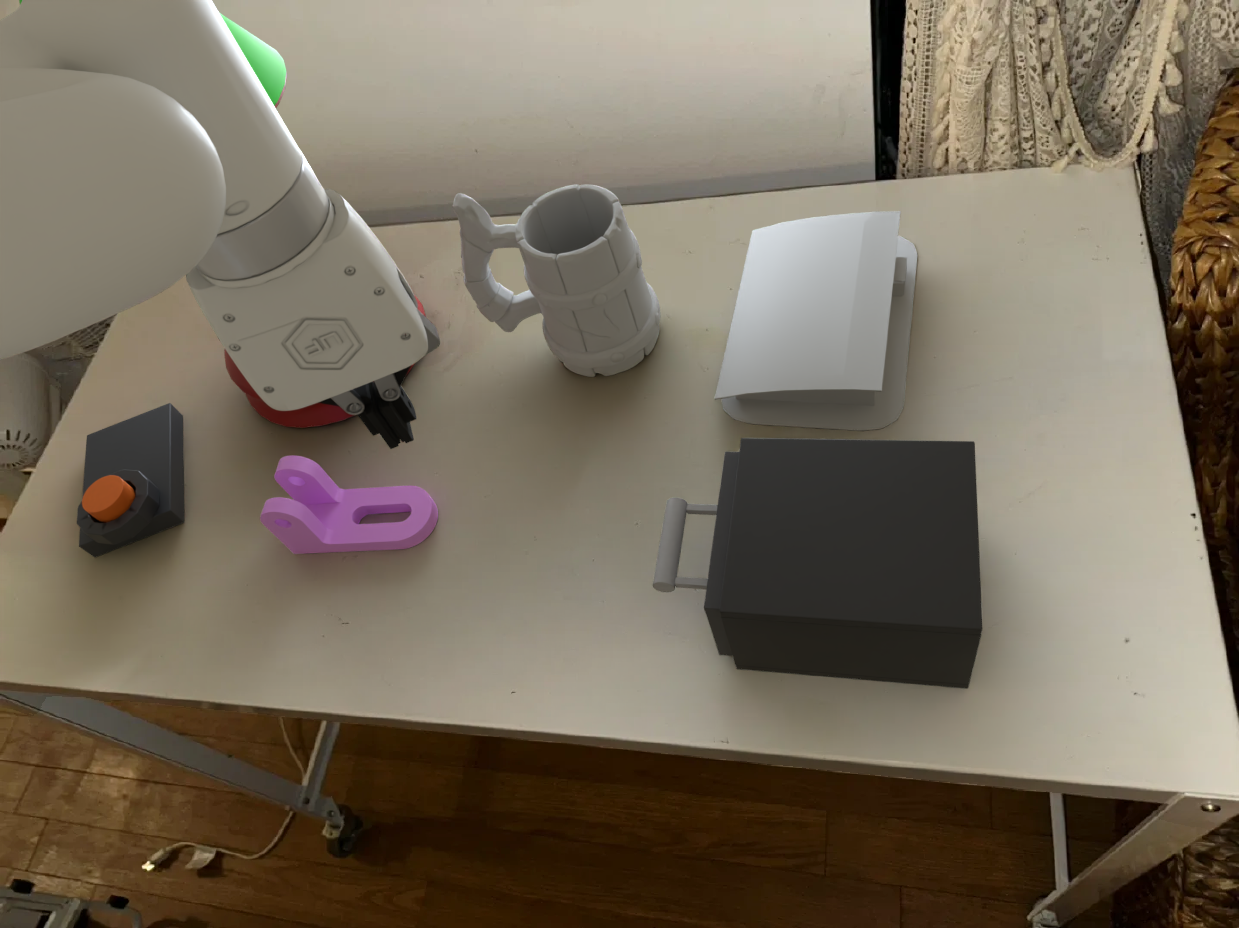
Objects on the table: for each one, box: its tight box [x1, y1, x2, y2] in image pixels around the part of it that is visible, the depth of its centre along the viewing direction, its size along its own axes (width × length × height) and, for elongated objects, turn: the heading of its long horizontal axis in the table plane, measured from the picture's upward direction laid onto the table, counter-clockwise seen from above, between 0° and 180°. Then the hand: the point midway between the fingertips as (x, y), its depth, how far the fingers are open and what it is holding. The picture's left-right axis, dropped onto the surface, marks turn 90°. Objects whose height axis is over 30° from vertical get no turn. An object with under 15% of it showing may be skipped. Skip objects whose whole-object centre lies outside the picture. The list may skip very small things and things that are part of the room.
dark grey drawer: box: [651, 451, 739, 657], centre depth 64 cm, size 19×12×8 cm, turn 80°
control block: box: [76, 402, 185, 558], centre depth 87 cm, size 15×9×4 cm, turn 18°
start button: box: [81, 475, 135, 522], centre depth 83 cm, size 4×4×2 cm
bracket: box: [259, 454, 439, 555], centre depth 78 cm, size 13×6×7 cm, turn 86°
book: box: [714, 210, 918, 432], centre depth 81 cm, size 15×23×4 cm, turn 167°
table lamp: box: [18, 0, 427, 429], centre depth 76 cm, size 20×20×45 cm
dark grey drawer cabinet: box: [720, 437, 984, 690], centre depth 63 cm, size 16×14×10 cm
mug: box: [452, 183, 662, 378], centre depth 81 cm, size 11×17×17 cm, turn 82°
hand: (399, 429), depth 61 cm, fingers closed
